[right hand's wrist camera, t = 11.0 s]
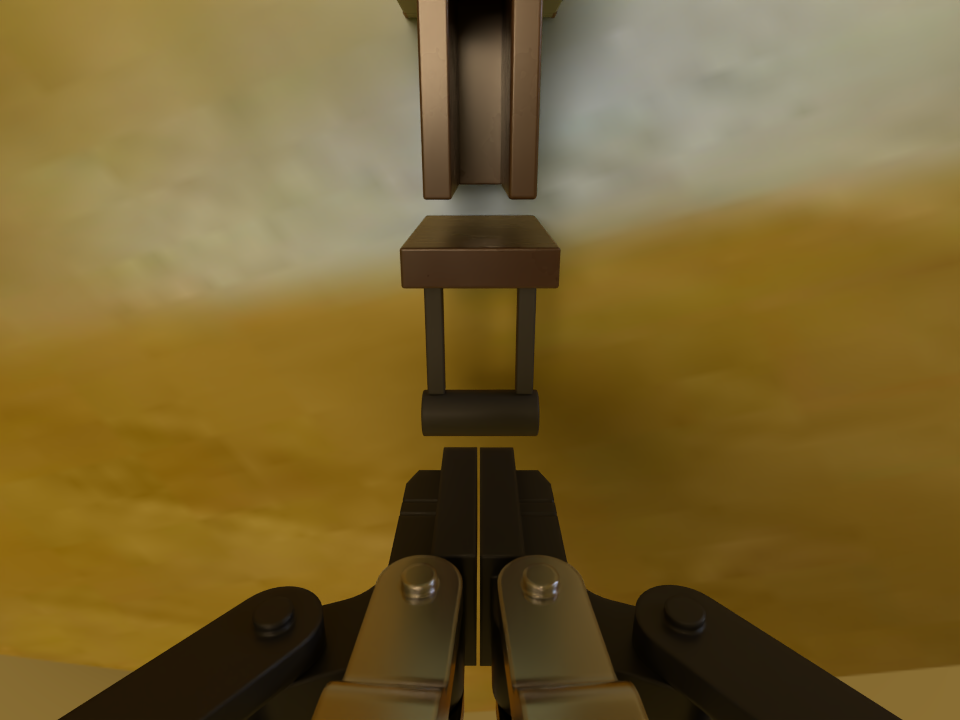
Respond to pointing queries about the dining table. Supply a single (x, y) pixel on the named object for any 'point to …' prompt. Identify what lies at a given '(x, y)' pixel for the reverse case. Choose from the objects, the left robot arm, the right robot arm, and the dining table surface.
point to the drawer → (480, 160)
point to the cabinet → (409, 7)
